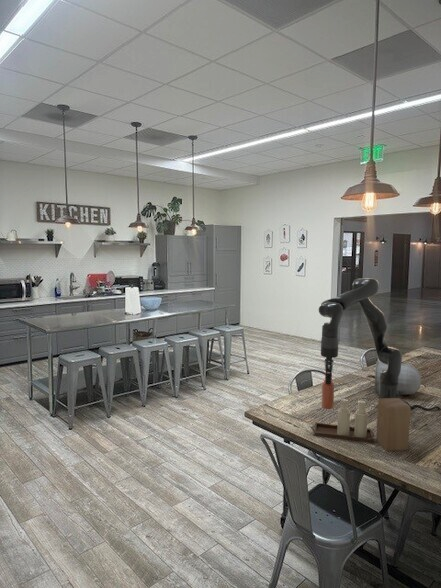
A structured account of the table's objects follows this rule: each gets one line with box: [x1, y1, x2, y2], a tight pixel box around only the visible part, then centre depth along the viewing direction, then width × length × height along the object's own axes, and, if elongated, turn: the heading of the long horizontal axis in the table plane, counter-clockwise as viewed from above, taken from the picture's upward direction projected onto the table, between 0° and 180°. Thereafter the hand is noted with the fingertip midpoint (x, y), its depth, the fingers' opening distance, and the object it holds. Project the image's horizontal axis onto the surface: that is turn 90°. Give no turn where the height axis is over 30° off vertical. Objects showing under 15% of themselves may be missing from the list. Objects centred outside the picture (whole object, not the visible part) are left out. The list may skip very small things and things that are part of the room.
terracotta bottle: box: [320, 371, 335, 410], centre depth 181 cm, size 5×5×16 cm
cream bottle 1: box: [336, 398, 351, 436], centre depth 181 cm, size 5×5×16 cm
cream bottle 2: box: [353, 400, 369, 438], centre depth 179 cm, size 5×5×16 cm
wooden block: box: [375, 398, 412, 452], centre depth 171 cm, size 10×10×20 cm
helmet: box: [365, 360, 422, 396], centre depth 234 cm, size 19×18×30 cm
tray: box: [313, 422, 375, 444], centre depth 182 cm, size 26×11×2 cm, turn 75°
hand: (328, 382), depth 181 cm, fingers closed on terracotta bottle, 4 cm apart
